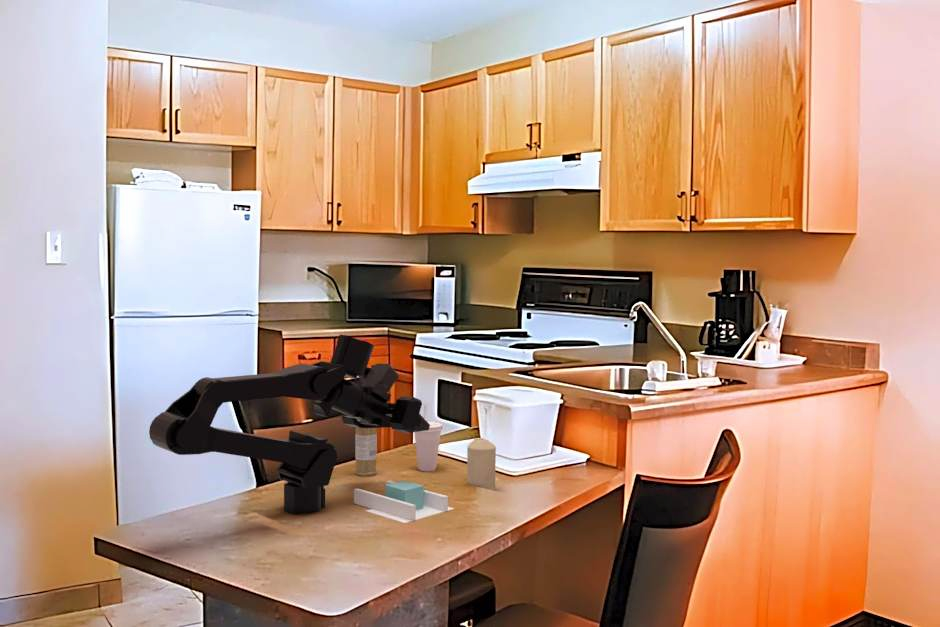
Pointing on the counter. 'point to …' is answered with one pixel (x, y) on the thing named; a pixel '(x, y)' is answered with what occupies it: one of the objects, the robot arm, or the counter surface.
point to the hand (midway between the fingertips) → (412, 425)
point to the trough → (401, 505)
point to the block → (406, 492)
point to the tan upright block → (481, 463)
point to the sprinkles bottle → (365, 451)
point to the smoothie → (428, 445)
